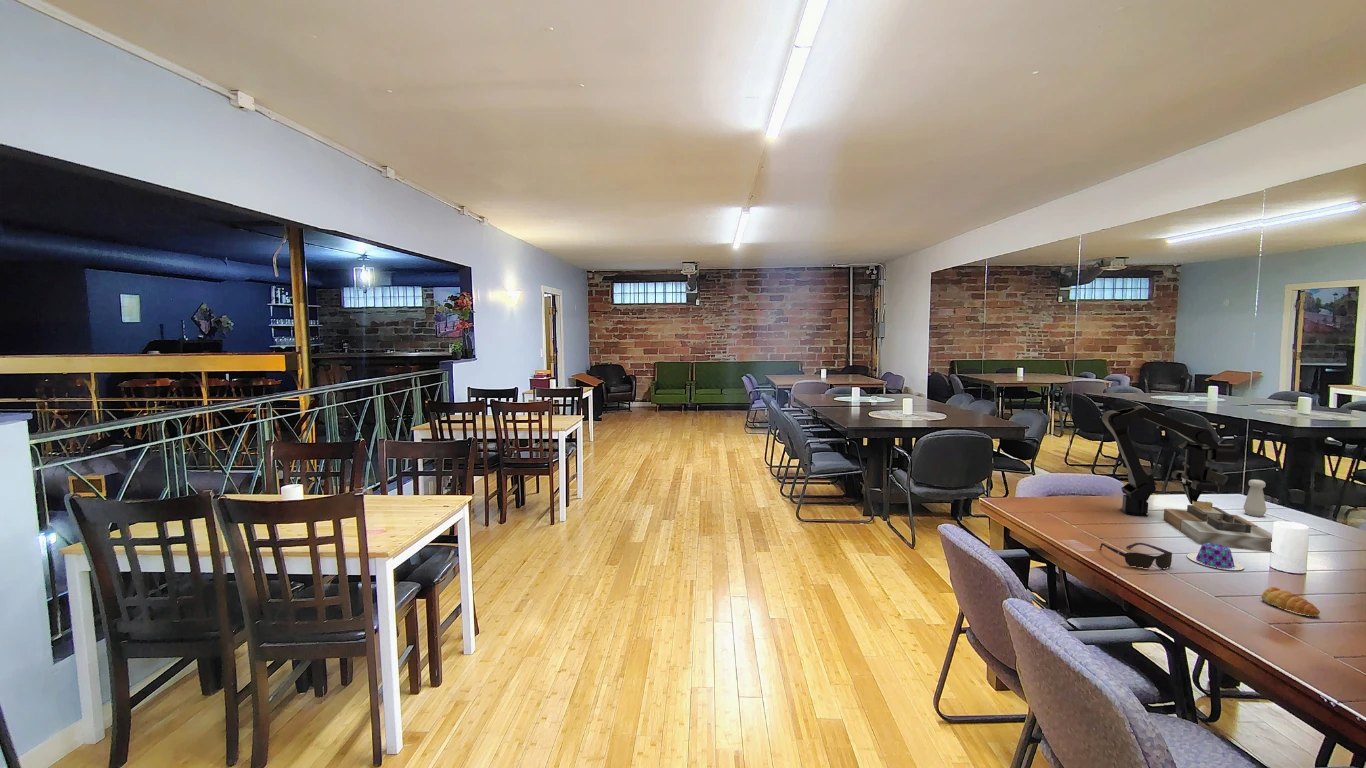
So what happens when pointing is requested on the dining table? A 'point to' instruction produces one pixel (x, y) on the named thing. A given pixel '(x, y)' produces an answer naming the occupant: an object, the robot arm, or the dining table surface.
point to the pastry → (1289, 601)
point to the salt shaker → (1255, 499)
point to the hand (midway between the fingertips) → (1192, 504)
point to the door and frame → (1219, 529)
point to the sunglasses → (1144, 557)
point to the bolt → (1207, 509)
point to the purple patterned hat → (1215, 557)
